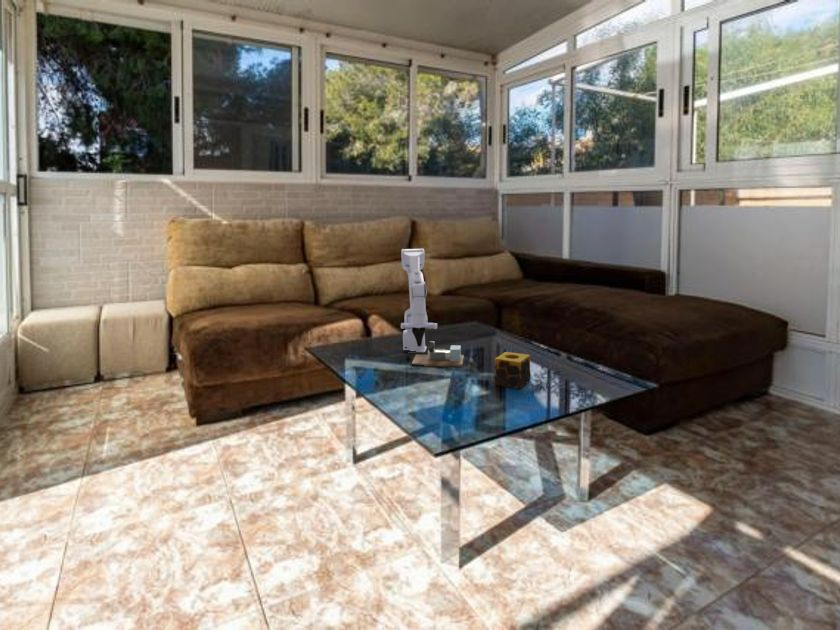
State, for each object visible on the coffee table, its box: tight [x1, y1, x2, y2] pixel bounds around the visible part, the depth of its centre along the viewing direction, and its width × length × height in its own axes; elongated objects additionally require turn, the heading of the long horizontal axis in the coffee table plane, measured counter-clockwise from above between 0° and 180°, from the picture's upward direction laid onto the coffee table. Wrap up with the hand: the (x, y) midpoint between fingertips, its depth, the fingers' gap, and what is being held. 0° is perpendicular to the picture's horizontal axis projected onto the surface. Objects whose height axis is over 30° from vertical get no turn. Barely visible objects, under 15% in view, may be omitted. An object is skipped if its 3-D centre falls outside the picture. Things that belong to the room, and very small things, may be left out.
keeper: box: [449, 344, 462, 362], centre depth 226 cm, size 4×6×5 cm, turn 172°
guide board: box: [411, 354, 465, 367], centre depth 227 cm, size 20×12×1 cm, turn 82°
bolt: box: [427, 340, 450, 360], centre depth 226 cm, size 12×3×7 cm, turn 82°
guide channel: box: [430, 348, 447, 361], centre depth 227 cm, size 6×5×4 cm
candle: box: [493, 351, 531, 390], centre depth 199 cm, size 10×10×10 cm
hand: (419, 345), depth 227 cm, fingers closed
